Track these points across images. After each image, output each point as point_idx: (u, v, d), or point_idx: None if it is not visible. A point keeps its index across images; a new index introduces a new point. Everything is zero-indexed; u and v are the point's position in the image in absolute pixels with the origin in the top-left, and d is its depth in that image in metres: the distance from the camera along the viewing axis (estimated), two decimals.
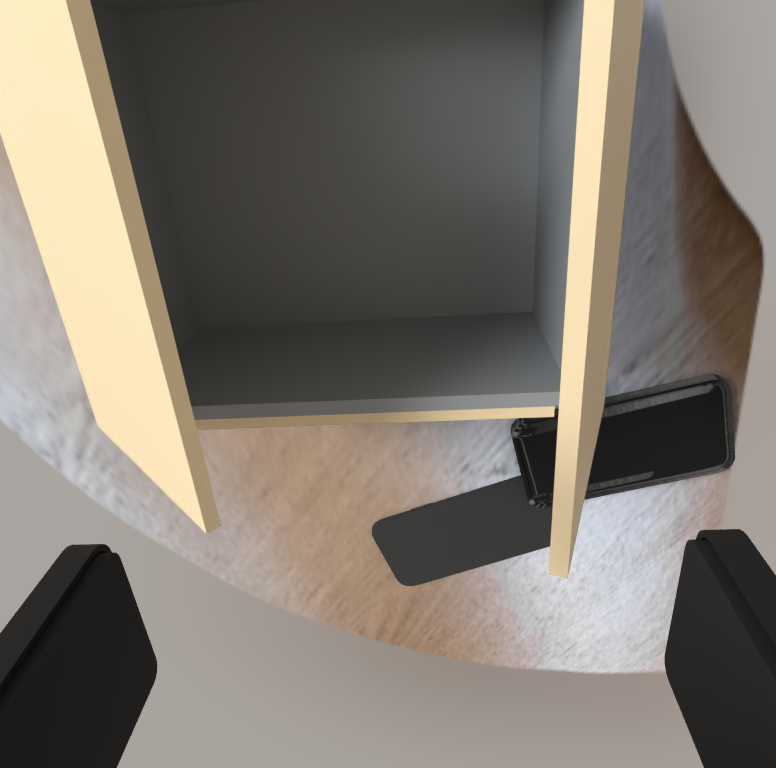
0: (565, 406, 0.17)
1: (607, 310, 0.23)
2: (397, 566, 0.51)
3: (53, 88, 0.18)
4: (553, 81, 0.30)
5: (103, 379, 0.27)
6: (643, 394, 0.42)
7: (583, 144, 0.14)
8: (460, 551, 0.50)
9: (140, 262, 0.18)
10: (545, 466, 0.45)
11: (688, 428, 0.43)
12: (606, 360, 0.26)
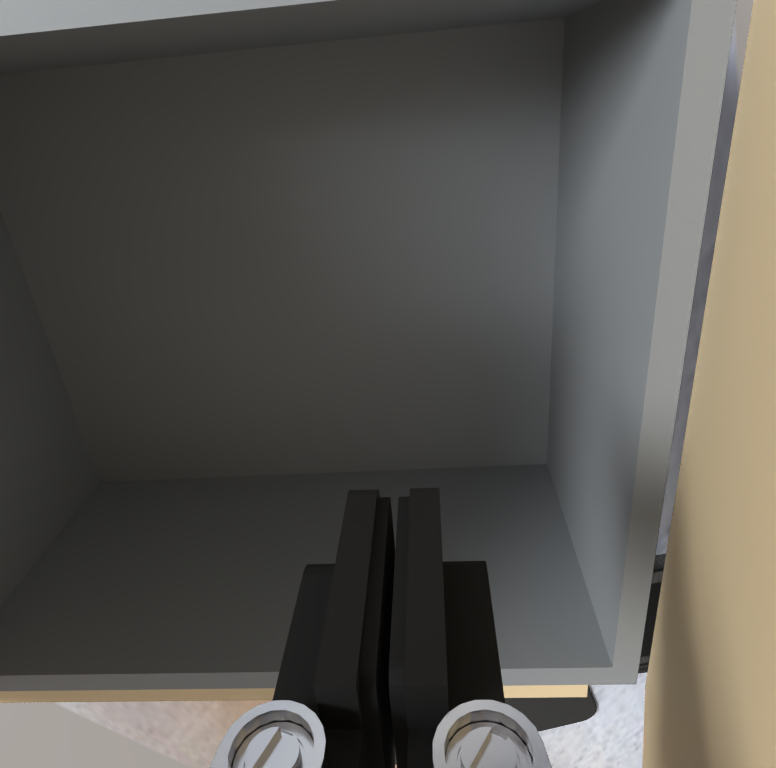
0: None
1: None
2: None
3: None
4: (579, 182, 0.20)
5: None
6: None
7: None
8: None
9: None
10: None
11: None
12: None
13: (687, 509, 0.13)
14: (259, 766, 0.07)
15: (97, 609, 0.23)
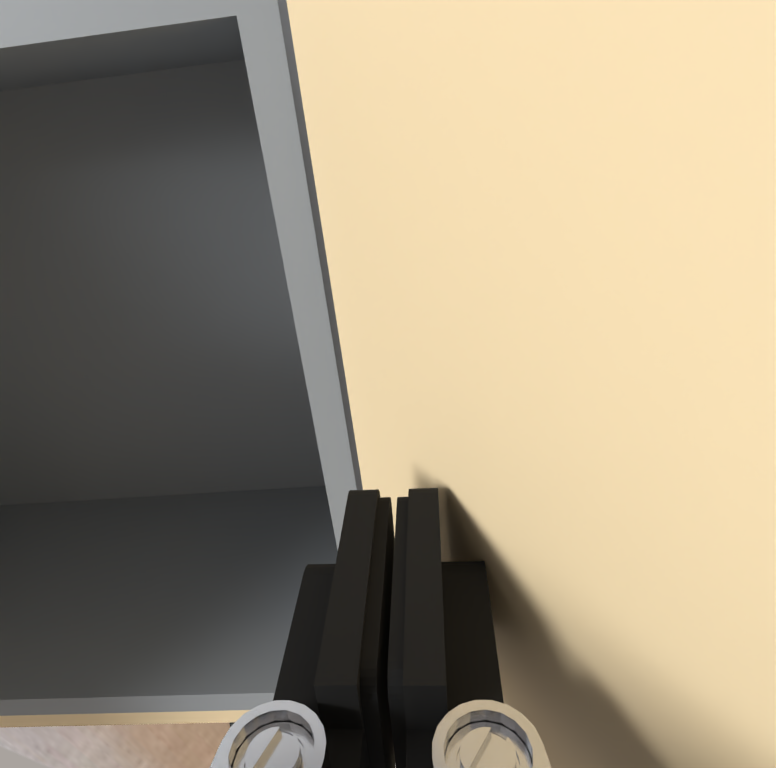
0: None
1: None
2: None
3: None
4: None
5: None
6: None
7: None
8: None
9: None
10: None
11: None
12: None
13: None
14: (260, 766, 0.07)
15: None
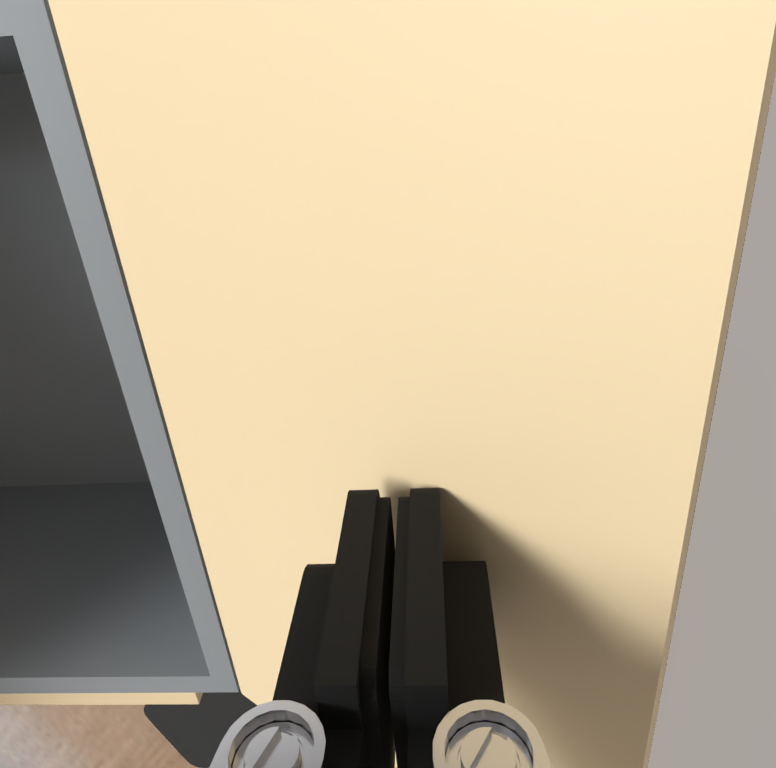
0: None
1: None
2: (183, 747, 0.41)
3: None
4: None
5: None
6: None
7: (700, 457, 0.08)
8: None
9: None
10: None
11: None
12: None
13: (250, 497, 0.14)
14: (259, 766, 0.07)
15: None
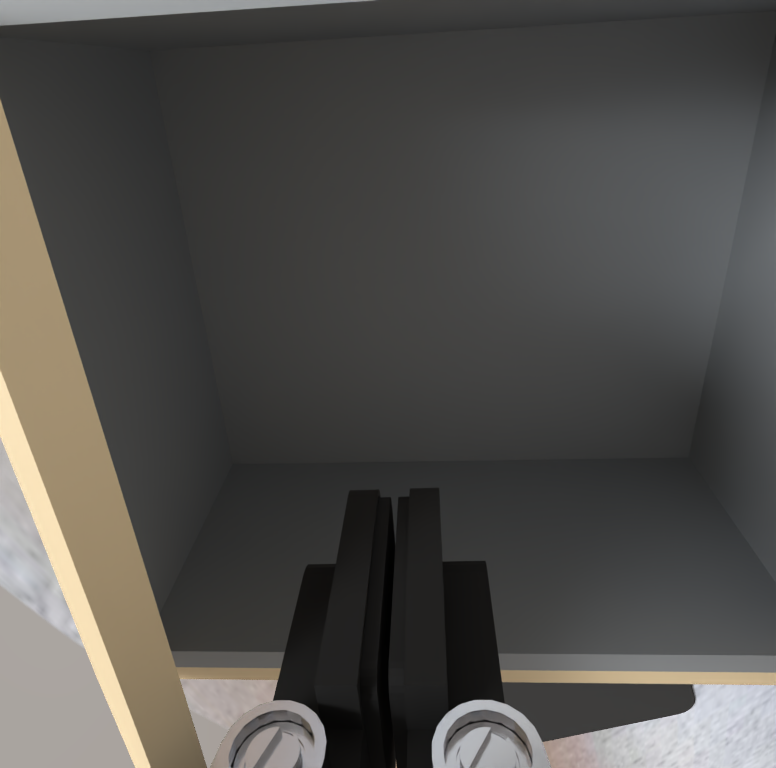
0: None
1: None
2: None
3: None
4: None
5: (100, 678, 0.16)
6: None
7: None
8: (551, 718, 0.39)
9: (161, 754, 0.07)
10: None
11: None
12: None
13: None
14: (260, 766, 0.07)
15: (276, 588, 0.23)
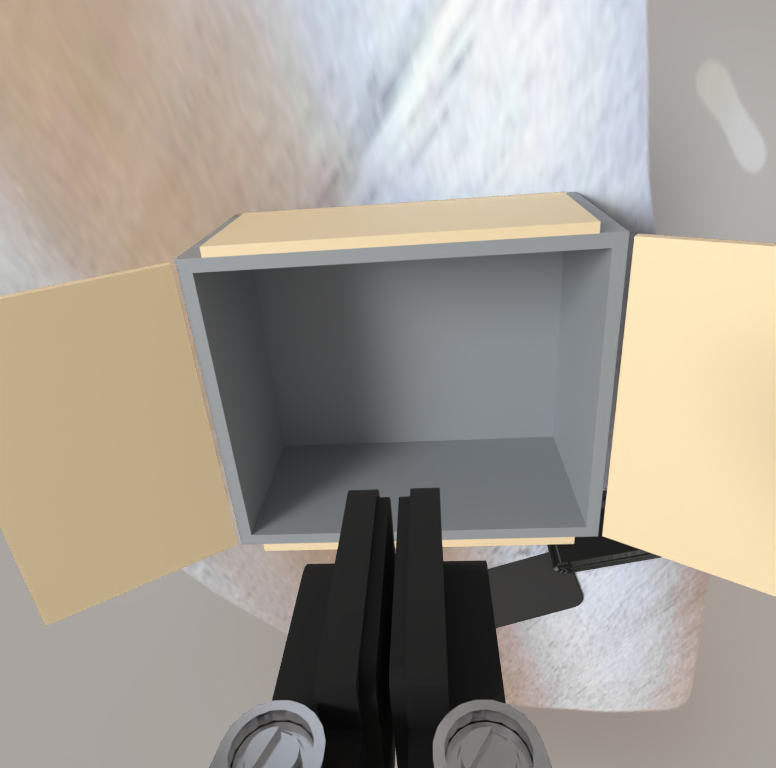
0: None
1: None
2: None
3: None
4: (573, 292, 0.40)
5: None
6: None
7: None
8: None
9: None
10: None
11: None
12: None
13: (666, 427, 0.34)
14: (259, 766, 0.07)
15: (316, 507, 0.44)
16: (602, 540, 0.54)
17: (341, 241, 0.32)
